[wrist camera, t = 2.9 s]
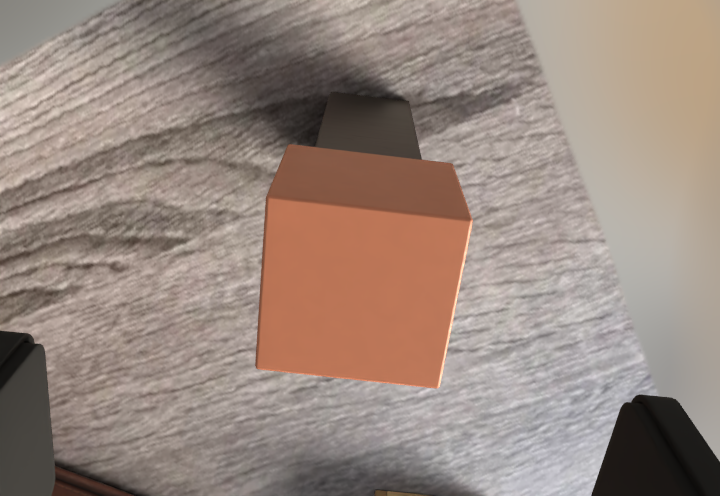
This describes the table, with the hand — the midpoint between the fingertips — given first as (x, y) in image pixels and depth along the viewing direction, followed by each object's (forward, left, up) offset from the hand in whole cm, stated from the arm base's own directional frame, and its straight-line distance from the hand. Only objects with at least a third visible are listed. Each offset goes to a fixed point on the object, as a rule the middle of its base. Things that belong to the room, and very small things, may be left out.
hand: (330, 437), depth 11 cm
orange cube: (0, 0, -9) cm, 9 cm away
